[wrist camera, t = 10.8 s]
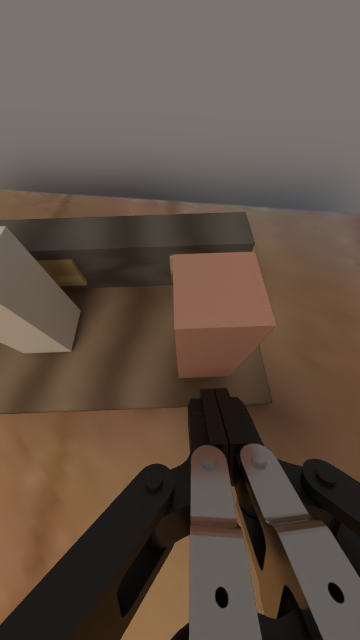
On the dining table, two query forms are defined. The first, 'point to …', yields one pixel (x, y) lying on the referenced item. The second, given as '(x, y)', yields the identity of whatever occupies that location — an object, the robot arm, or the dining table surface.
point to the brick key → (218, 311)
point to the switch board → (121, 314)
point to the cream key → (32, 303)
